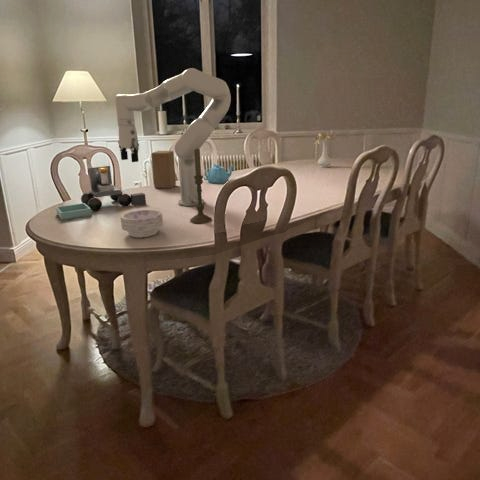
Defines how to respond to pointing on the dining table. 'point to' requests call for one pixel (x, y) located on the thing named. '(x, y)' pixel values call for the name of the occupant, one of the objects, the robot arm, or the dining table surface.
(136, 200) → the chock
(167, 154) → the wooden block
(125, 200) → the trolley
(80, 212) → the tray
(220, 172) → the teapot
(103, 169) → the stop pin
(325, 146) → the flower vase
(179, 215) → the dining table surface
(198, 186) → the candlestick holder
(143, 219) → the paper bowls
